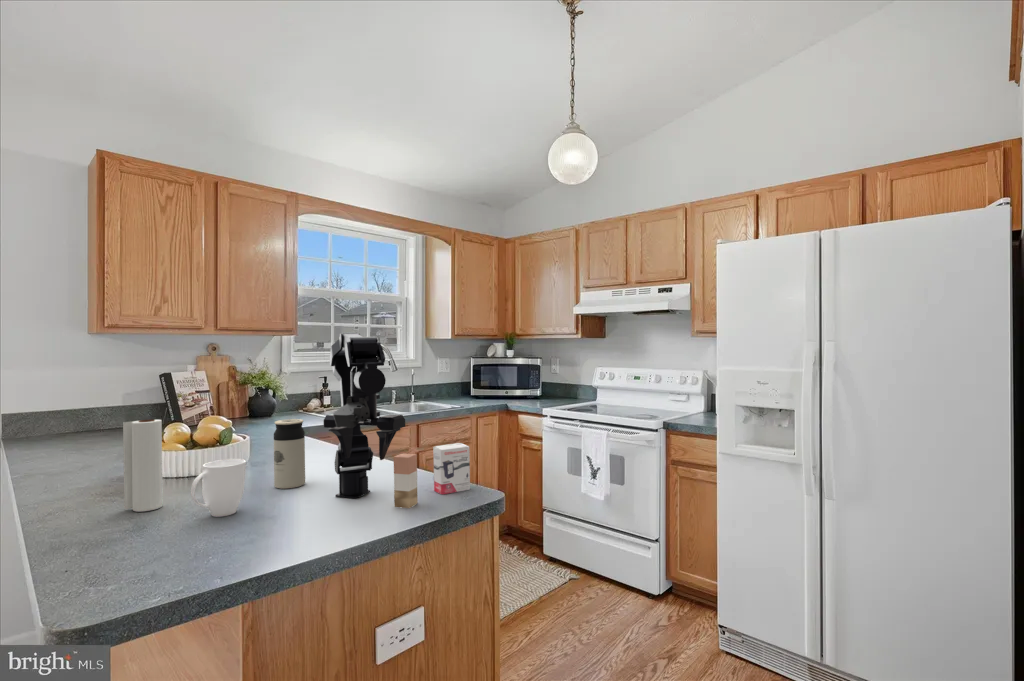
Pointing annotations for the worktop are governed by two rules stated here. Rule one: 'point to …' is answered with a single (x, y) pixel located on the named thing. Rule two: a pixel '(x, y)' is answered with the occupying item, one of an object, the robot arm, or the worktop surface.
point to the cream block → (405, 481)
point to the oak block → (405, 498)
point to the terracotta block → (405, 463)
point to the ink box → (451, 468)
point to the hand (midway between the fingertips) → (364, 458)
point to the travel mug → (289, 454)
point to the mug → (221, 486)
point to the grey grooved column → (142, 465)
